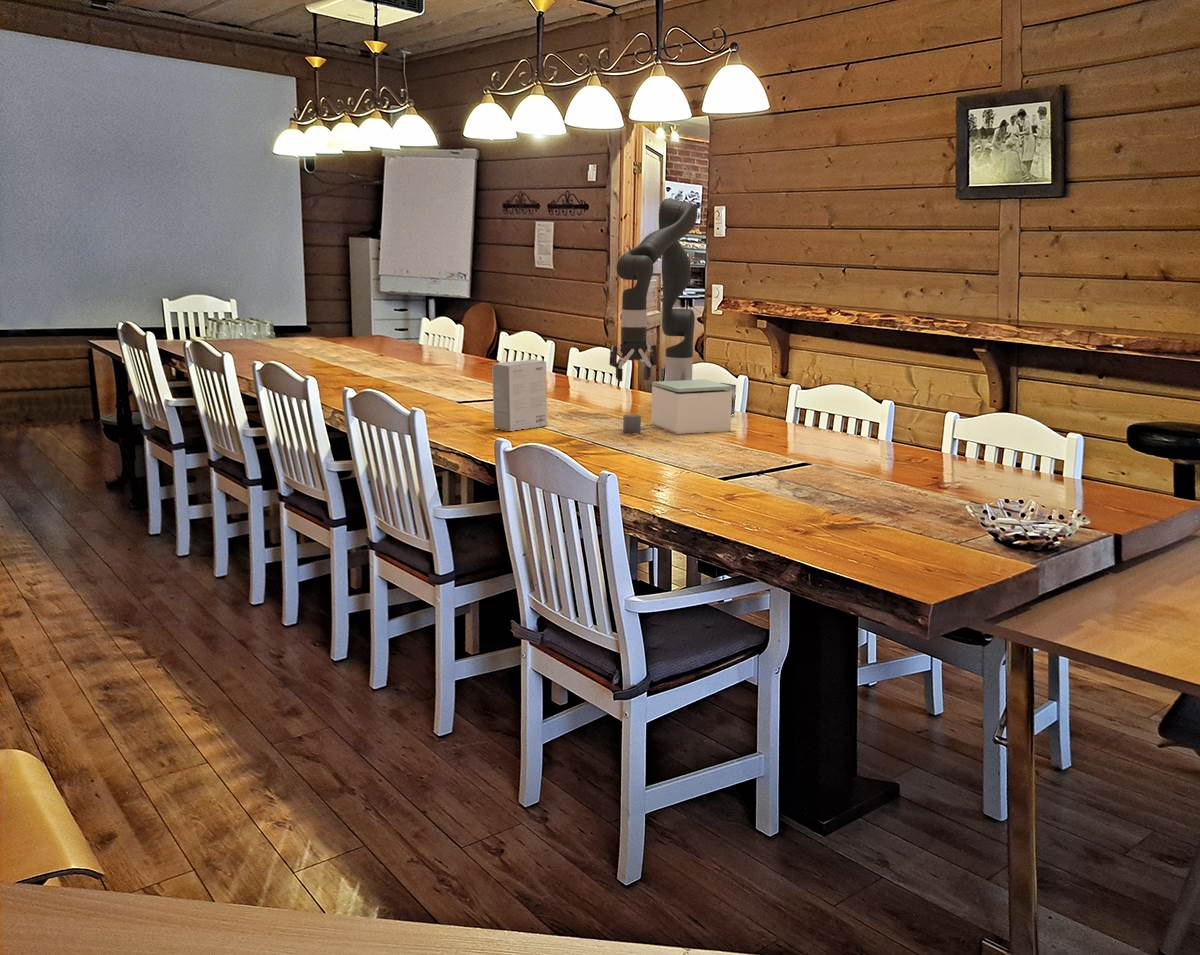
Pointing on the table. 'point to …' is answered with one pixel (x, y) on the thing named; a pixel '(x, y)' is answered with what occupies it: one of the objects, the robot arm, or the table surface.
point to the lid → (691, 385)
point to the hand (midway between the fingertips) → (633, 380)
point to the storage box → (691, 410)
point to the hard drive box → (519, 394)
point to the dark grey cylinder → (631, 423)
